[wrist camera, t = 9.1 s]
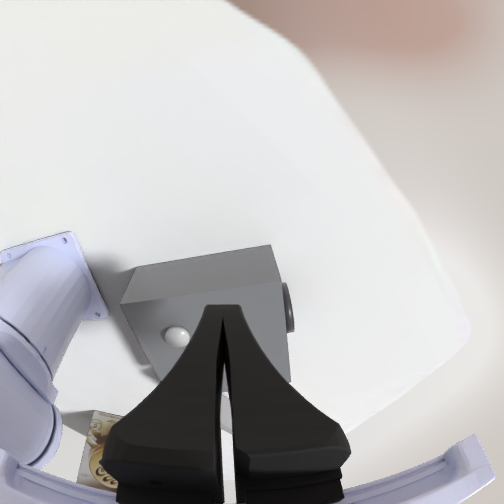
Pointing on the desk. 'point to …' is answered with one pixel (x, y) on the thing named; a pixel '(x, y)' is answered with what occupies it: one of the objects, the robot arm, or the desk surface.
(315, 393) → the desk surface
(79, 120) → the desk surface
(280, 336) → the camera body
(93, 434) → the coffee box
